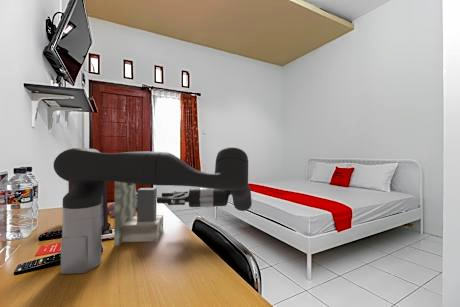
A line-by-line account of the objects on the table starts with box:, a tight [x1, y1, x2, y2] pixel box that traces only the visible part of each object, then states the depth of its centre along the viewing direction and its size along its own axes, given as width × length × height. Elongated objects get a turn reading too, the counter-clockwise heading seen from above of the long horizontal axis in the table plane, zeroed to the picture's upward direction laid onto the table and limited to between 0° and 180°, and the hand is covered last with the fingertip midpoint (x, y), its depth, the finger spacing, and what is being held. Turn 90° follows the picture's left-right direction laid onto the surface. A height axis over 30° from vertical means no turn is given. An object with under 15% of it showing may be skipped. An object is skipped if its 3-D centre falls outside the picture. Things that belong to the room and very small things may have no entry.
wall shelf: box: [113, 181, 164, 247], centre depth 86 cm, size 18×14×24 cm
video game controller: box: [108, 202, 115, 218], centre depth 114 cm, size 10×5×7 cm, turn 49°
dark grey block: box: [136, 187, 158, 222], centre depth 86 cm, size 4×6×12 cm
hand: (159, 197), depth 87 cm, fingers open, 8 cm apart
